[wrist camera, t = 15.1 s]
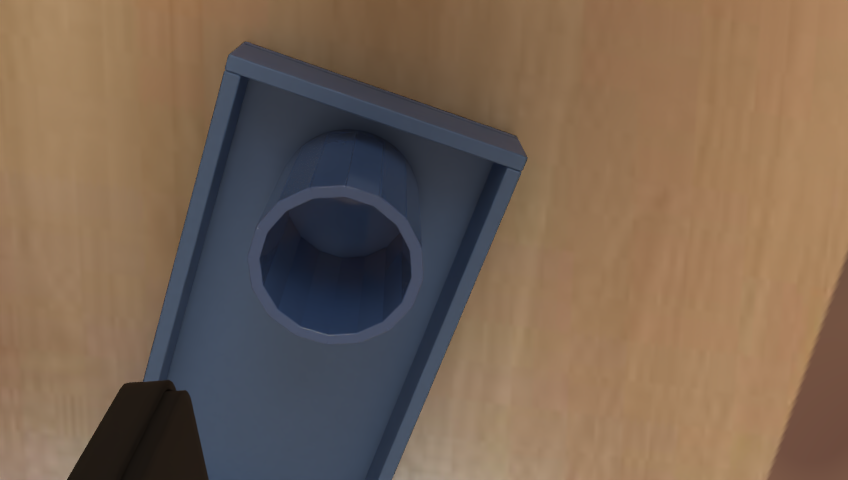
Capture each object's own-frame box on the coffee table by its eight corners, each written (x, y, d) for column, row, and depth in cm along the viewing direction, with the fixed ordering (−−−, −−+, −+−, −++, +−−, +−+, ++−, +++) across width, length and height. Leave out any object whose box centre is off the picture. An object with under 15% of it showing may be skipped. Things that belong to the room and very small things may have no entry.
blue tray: (244, 40, 30) (228, 53, 27) (517, 136, 32) (528, 157, 29) (125, 487, 38) (103, 532, 35) (348, 544, 39) (344, 592, 37)
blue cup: (302, 109, 30) (275, 162, 24) (438, 155, 31) (447, 218, 25) (263, 236, 32) (229, 316, 26) (392, 276, 33) (390, 363, 27)
